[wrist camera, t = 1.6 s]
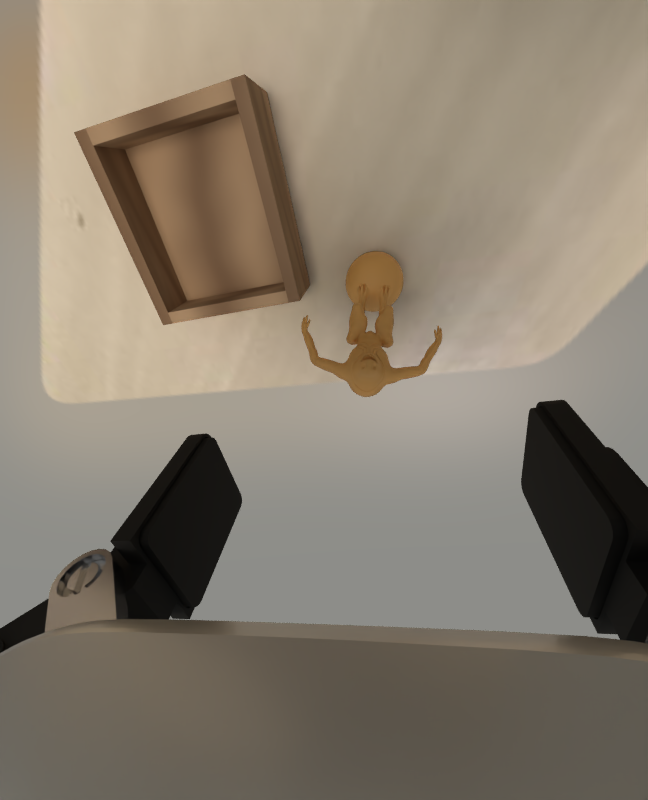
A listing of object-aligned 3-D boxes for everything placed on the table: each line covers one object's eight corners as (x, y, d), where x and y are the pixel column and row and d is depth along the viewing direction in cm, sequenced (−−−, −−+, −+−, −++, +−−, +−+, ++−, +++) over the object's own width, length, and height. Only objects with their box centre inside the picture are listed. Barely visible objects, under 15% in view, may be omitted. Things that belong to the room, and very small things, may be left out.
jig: (266, 92, 21) (244, 74, 17) (310, 284, 27) (299, 300, 23) (119, 139, 23) (74, 132, 20) (189, 307, 29) (163, 325, 26)
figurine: (436, 250, 24) (478, 299, 14) (420, 331, 28) (445, 417, 18) (320, 243, 25) (282, 285, 15) (317, 323, 28) (285, 400, 18)
